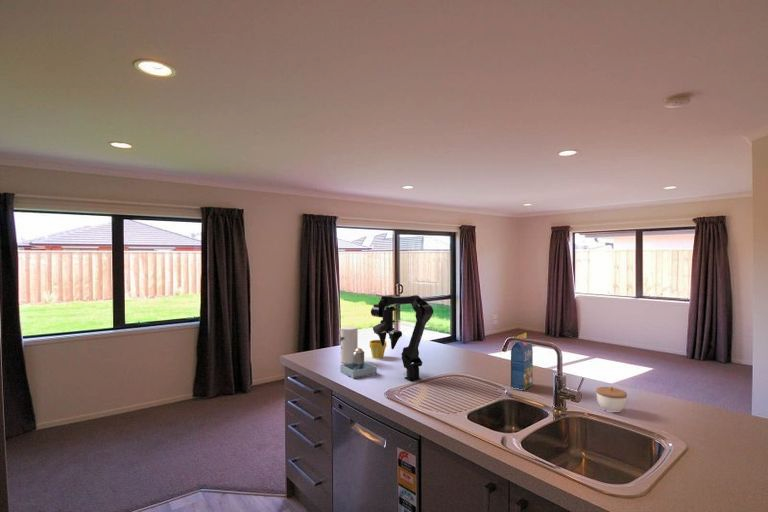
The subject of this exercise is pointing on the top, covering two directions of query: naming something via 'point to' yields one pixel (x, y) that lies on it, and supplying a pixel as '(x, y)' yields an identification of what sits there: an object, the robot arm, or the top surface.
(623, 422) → the top surface
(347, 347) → the container
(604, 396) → the lidded jar
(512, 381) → the blue food package
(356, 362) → the metallic can
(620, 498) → the top surface
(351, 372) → the bin
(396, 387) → the top surface
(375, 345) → the plant pot
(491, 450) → the top surface
